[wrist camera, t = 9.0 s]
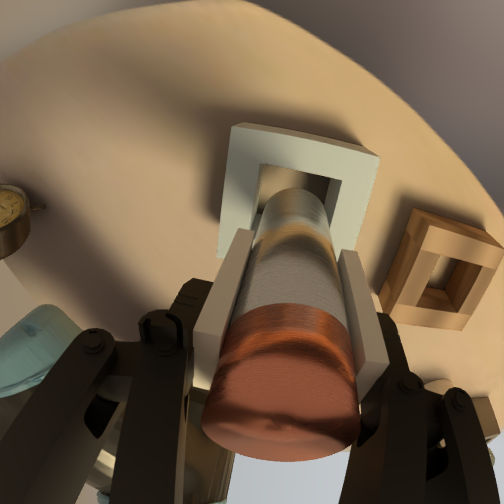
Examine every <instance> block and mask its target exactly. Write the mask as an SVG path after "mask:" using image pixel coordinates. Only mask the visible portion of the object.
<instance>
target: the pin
mask: <svg viewBox="0 0 504 504" xmlns="http://www.w3.org/2000/svg"><path fill="white" fill-rule="evenodd" d="M201 426H202V429H203V431H204V432H205V433H206V435H207V436H208V437H209V438H210V439H212V440H213V441H214V442H216V443H217V444H219V445H220V446H222V447H224V448H226V449H228V450H230V451H233V452H235V453H238V454H241V455H244V456H248V457H252V458H256V459H261V460H269V461H281V462H295V461H307V460H313V459H318V458H323V457H326V456H329V455H332V454H335V453H337V452H340V451H342V450H344V449H345V448H347V447H348V446H350V445H351V444H352V443H354V442H355V440H356V439H357V438H358V436H359V435H360V431H361V424H360V412H359V401H358V392H357V383H356V375H355V367H354V359H353V352H352V345H351V338H350V332H349V325H348V319H347V313H346V307H345V302H344V296H343V291H342V285H341V280H340V275H339V270H338V265H337V260H336V256H335V251H334V246H333V242H332V237H331V233H330V229H329V224H328V220H327V216H326V212H325V208H324V206H323V204H322V202H321V201H320V200H319V199H318V197H317V196H315V195H314V194H313V193H311V192H309V191H307V190H304V189H300V188H288V189H284V190H282V191H279V192H278V193H276V194H275V195H273V196H272V197H271V198H270V199H269V201H268V202H267V204H266V206H265V208H264V211H263V215H262V218H261V221H260V225H259V228H258V231H257V234H256V238H255V241H254V244H253V248H252V251H251V254H250V258H249V261H248V264H247V268H246V271H245V274H244V278H243V281H242V284H241V288H240V291H239V294H238V297H237V301H236V304H235V307H234V311H233V314H232V317H231V321H230V324H229V327H228V330H227V334H226V337H225V340H224V344H223V347H222V350H221V354H220V357H219V360H218V363H217V366H216V370H215V373H214V376H213V380H212V383H211V386H210V389H209V393H208V396H207V399H206V403H205V406H204V409H203V413H202V416H201Z"/></svg>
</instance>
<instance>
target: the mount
mask: <svg viewBox="0 0 504 504" xmlns="http://www.w3.org/2000/svg"><path fill="white" fill-rule="evenodd" d="M440 255H444V256H448V257H452V258H456V259H459V261H458V264H457V266H456V268H455V270H454V272H453V274H452V276H451V278H450V280H449V282H448V284H447V286H446V288H445V290H440V289H434V288H429V287H426V285H427V283H428V281H429V279H430V276H431V274H432V272H433V270H434V268H435V266H436V263H437V261H438V259H439V257H440ZM503 256H504V248H503V247H502V246H501V245H500V244H499V243H498V242H497V241H496V240H495V239H494V238H493V237H492V236H491V235H489V234H488V233H487V232H485V231H483V230H480V229H477V228H474V227H472V226H469V225H466V224H463V223H460V222H457V221H454V220H451V219H448V218H445V217H442V216H439V215H436V214H433V213H430V212H426V211H423V210H420V209H416V208H413V209H412V212H411V215H410V218H409V221H408V224H407V226H406V229H405V232H404V235H403V237H402V240H401V243H400V245H399V248H398V250H397V253H396V256H395V258H394V260H393V263H392V265H391V268H390V270H389V273H388V275H387V277H386V280H385V282H384V284H383V286H382V289H381V291H380V293H379V295H378V298H379V301H380V304H381V307H382V310H383V313H386V314H388V315H389V316H390V317H391V318H392V320H393V321H394V322H395V323H399V324H407V325H414V326H422V327H430V328H438V329H447V330H456V331H462V330H463V328H464V327H465V325H466V324H467V322H468V320H469V319H470V317H471V316H472V314H473V312H474V311H475V309H476V307H477V306H478V304H479V302H480V300H481V299H482V297H483V295H484V293H485V291H486V290H487V288H488V286H489V284H490V282H491V280H492V278H493V276H494V274H495V272H496V270H497V268H498V266H499V264H500V262H501V260H502V258H503Z"/></svg>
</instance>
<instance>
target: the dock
mask: <svg viewBox="0 0 504 504" xmlns="http://www.w3.org/2000/svg"><path fill="white" fill-rule="evenodd" d="M379 162H380V157H379V156H377V155H376V154H374V153H373V152H371V151H370V150H368V149H367V148H365V147H363V146H359V145H356V144H352V143H348V142H344V141H340V140H336V139H332V138H328V137H323V136H319V135H314V134H310V133H305V132H300V131H295V130H290V129H284V128H279V127H273V126H267V125H261V124H254V123H247V122H243V123H240V124H237V125H234V126H231V134H230V141H229V149H228V157H227V165H226V173H225V182H224V190H223V199H222V208H221V217H220V227H219V236H218V246H217V257H216V258H220V259H224V258H225V256H226V254H227V252H228V249H229V247H230V245H231V243H232V241H233V238H234V236H235V234H236V232H237V230H238V228H242V229H247V230H252V231H255V234H254V240H253V244H254V241H255V238H256V234H257V231H258V228H259V225H260V221H261V218H262V214H257V209H258V203H259V196H260V190H261V184H262V178H263V172H264V166H265V164H267V165H272V166H278V167H283V168H288V169H293V170H298V171H303V172H308V173H312V174H317V175H321V176H326V177H330V182H329V187H328V191H327V195H326V199H325V203H324V208H325V212H326V216H327V220H328V224H329V229H330V233H331V237H332V242H333V246H334V251H335V256H336V260H337V261H338V258H339V255H340V252H341V249H346V250H351V251H353V250H354V247H355V244H356V241H357V238H358V235H359V232H360V228H361V225H362V222H363V219H364V216H365V212H366V209H367V206H368V202H369V199H370V195H371V192H372V188H373V185H374V181H375V177H376V173H377V170H378V166H379ZM252 248H253V246H252Z"/></svg>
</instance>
